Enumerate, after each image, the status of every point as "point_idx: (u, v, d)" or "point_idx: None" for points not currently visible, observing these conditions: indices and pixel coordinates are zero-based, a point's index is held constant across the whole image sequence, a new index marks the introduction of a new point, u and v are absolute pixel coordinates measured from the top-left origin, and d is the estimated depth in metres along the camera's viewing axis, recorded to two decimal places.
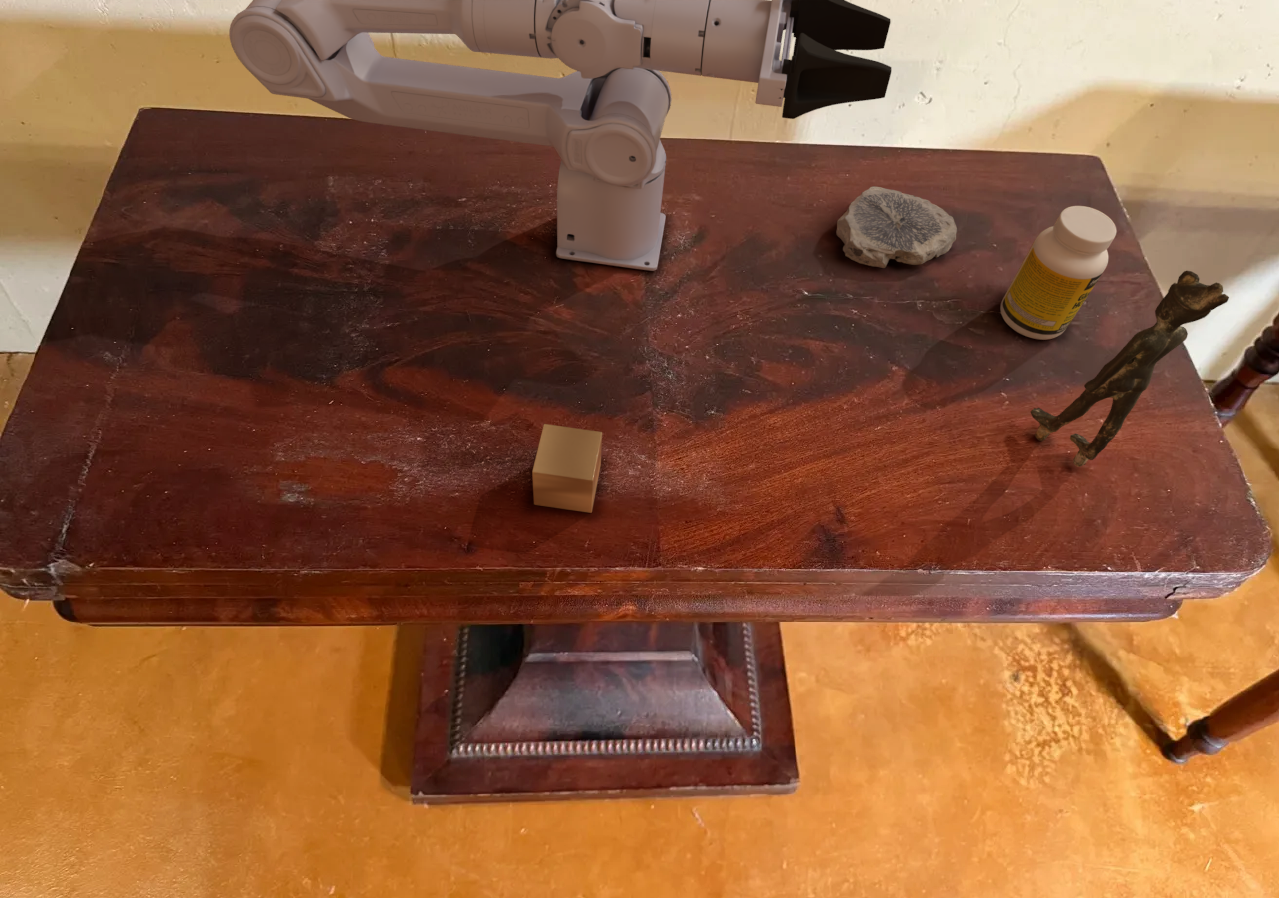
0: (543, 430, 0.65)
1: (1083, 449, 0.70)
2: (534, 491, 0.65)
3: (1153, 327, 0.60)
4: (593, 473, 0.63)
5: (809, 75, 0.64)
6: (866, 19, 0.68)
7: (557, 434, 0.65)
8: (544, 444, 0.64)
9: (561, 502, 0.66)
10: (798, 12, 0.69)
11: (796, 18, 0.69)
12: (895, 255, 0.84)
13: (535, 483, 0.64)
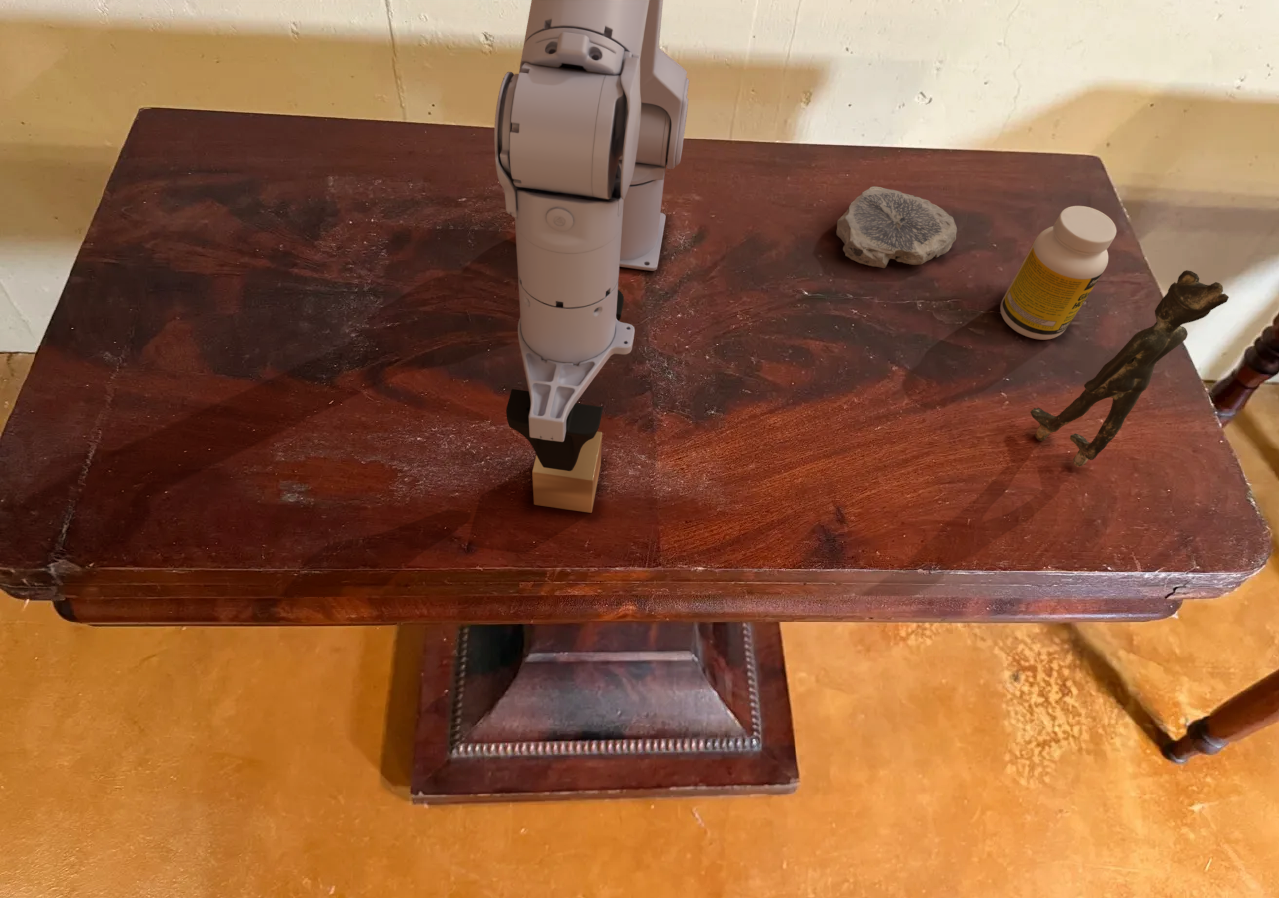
0: None
1: (1083, 449, 0.70)
2: (534, 491, 0.65)
3: (1153, 327, 0.60)
4: (593, 473, 0.63)
5: None
6: None
7: None
8: None
9: (561, 502, 0.66)
10: None
11: None
12: (895, 255, 0.84)
13: (535, 483, 0.64)
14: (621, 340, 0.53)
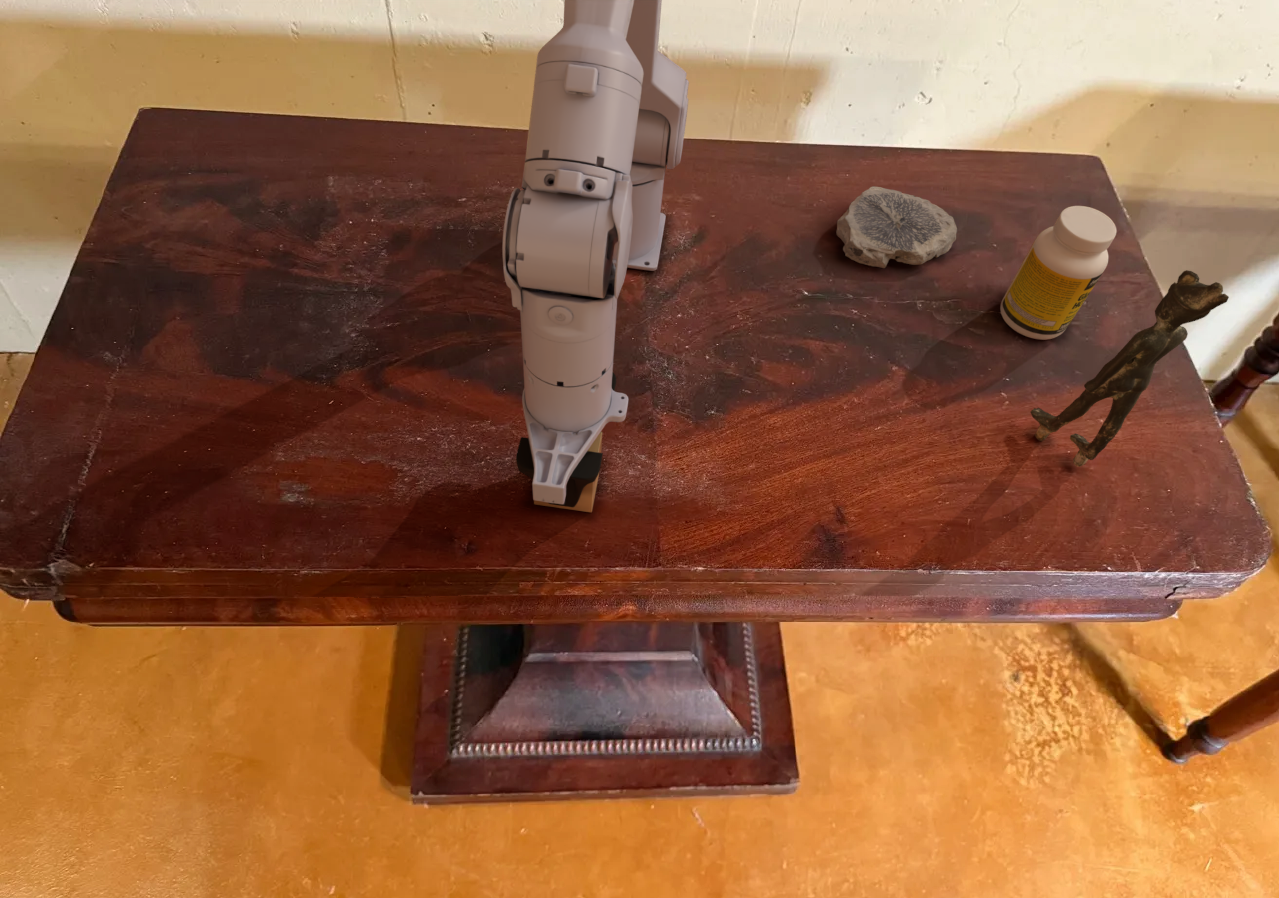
0: None
1: (1083, 449, 0.70)
2: None
3: (1153, 327, 0.60)
4: None
5: None
6: None
7: None
8: None
9: None
10: None
11: None
12: (895, 255, 0.84)
13: None
14: (616, 409, 0.59)
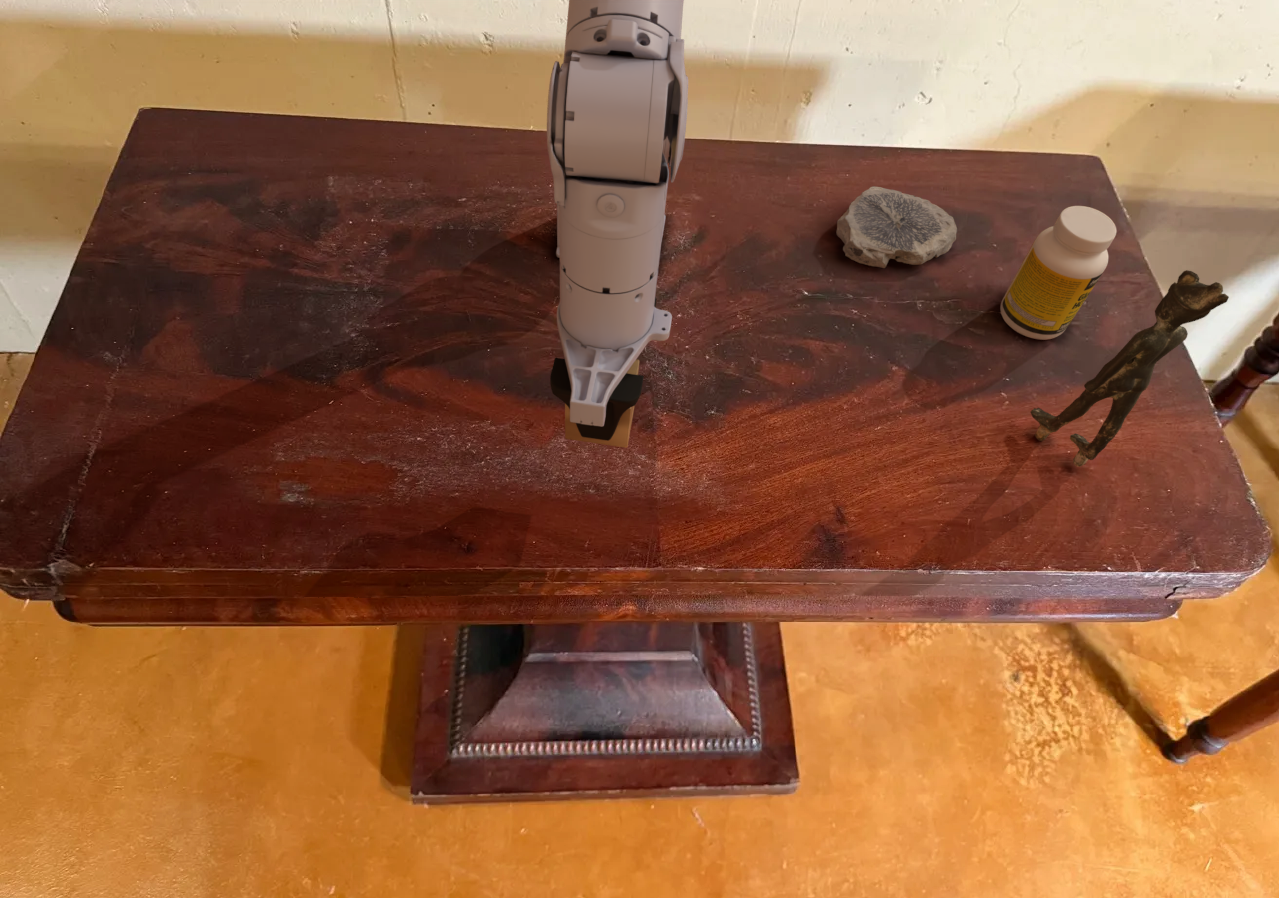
0: None
1: (1083, 449, 0.70)
2: (566, 423, 0.60)
3: (1153, 327, 0.60)
4: None
5: None
6: None
7: None
8: None
9: None
10: None
11: None
12: (895, 255, 0.84)
13: (568, 413, 0.59)
14: (659, 327, 0.54)
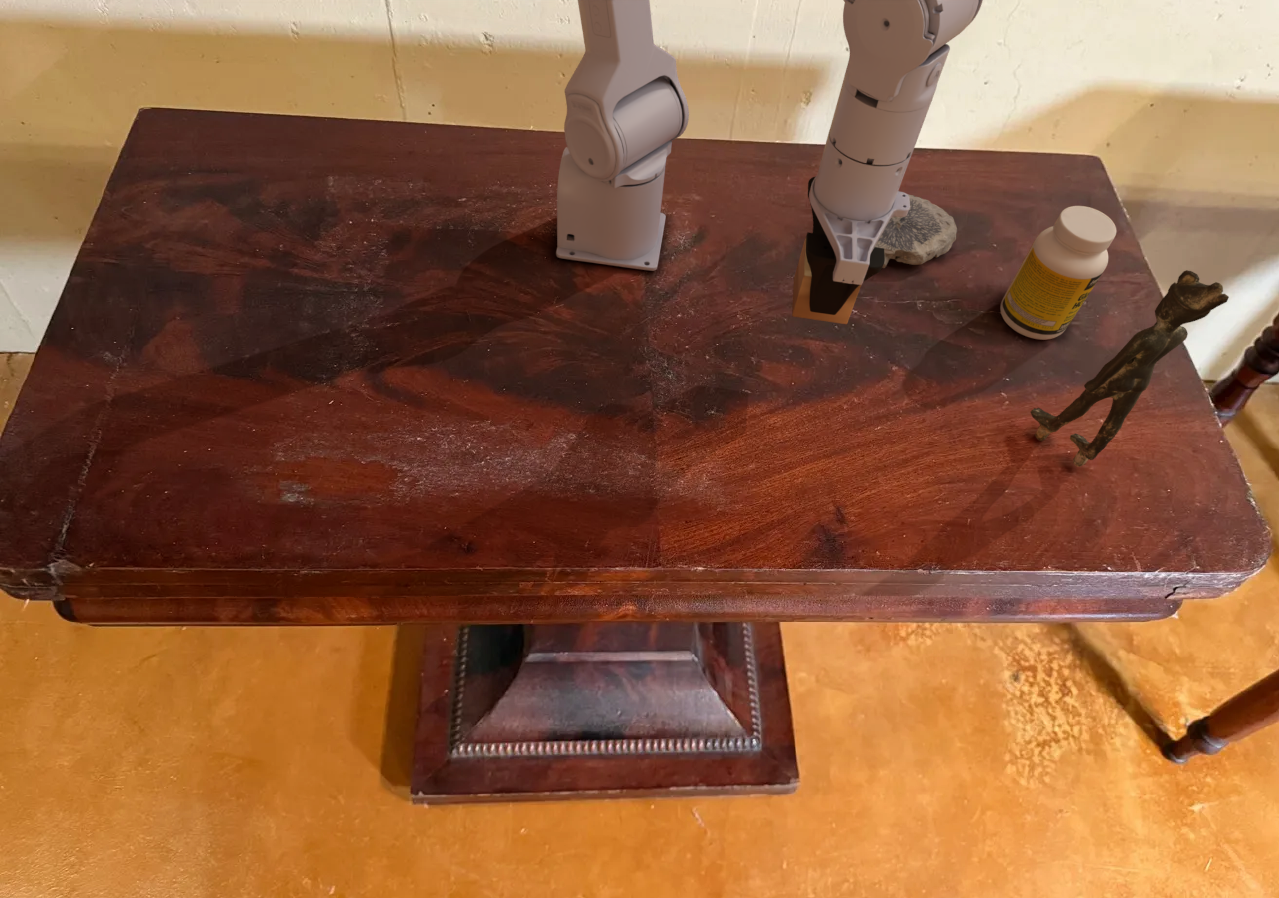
0: None
1: (1083, 449, 0.70)
2: (798, 299, 0.69)
3: (1153, 327, 0.60)
4: None
5: None
6: None
7: None
8: None
9: None
10: None
11: None
12: (895, 255, 0.84)
13: (802, 289, 0.68)
14: (900, 204, 0.63)
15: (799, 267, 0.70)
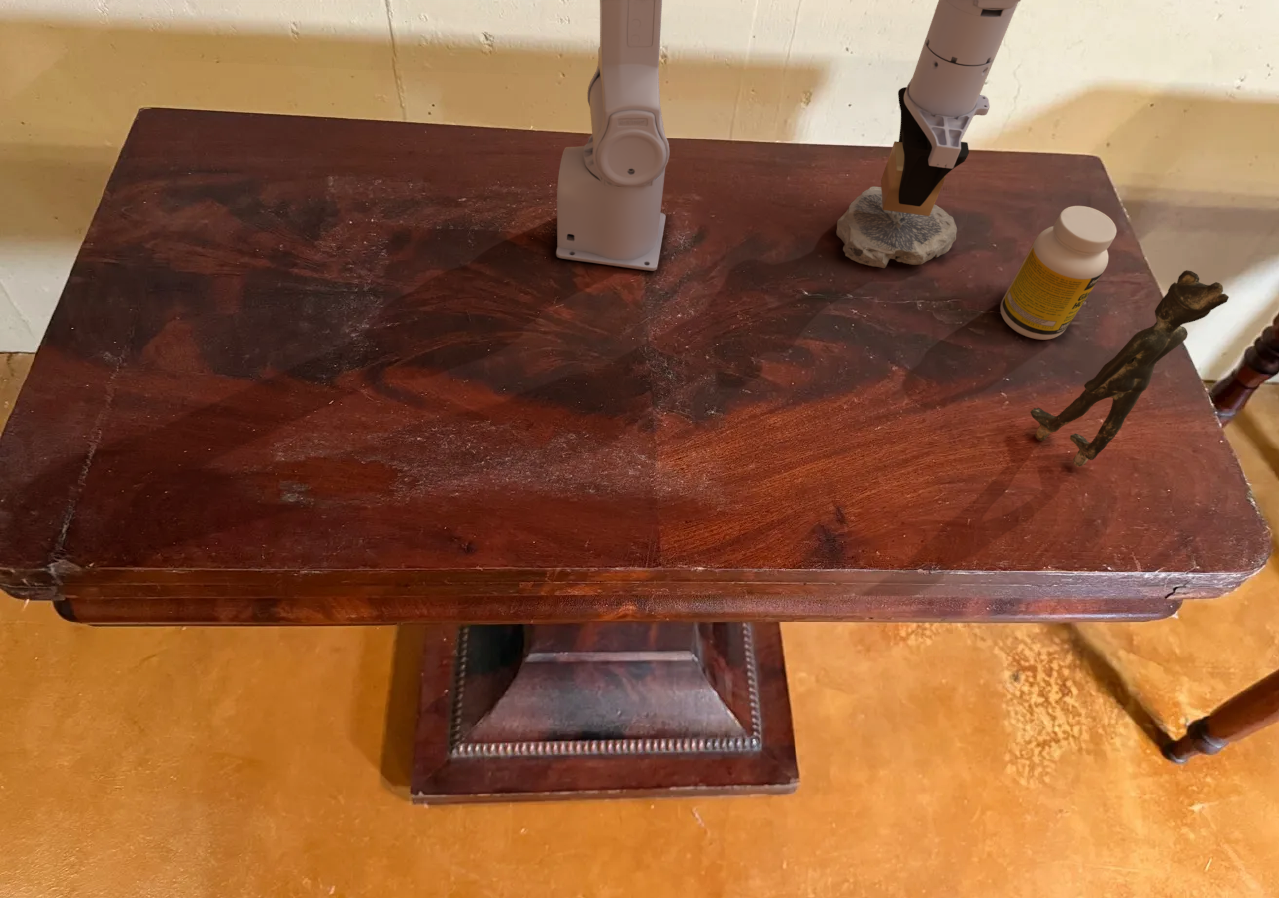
0: (895, 145, 0.81)
1: (1083, 449, 0.70)
2: (889, 193, 0.81)
3: (1153, 327, 0.60)
4: None
5: None
6: None
7: None
8: (899, 153, 0.80)
9: (908, 205, 0.81)
10: None
11: None
12: (895, 255, 0.84)
13: (894, 183, 0.80)
14: (981, 104, 0.75)
15: (888, 167, 0.82)
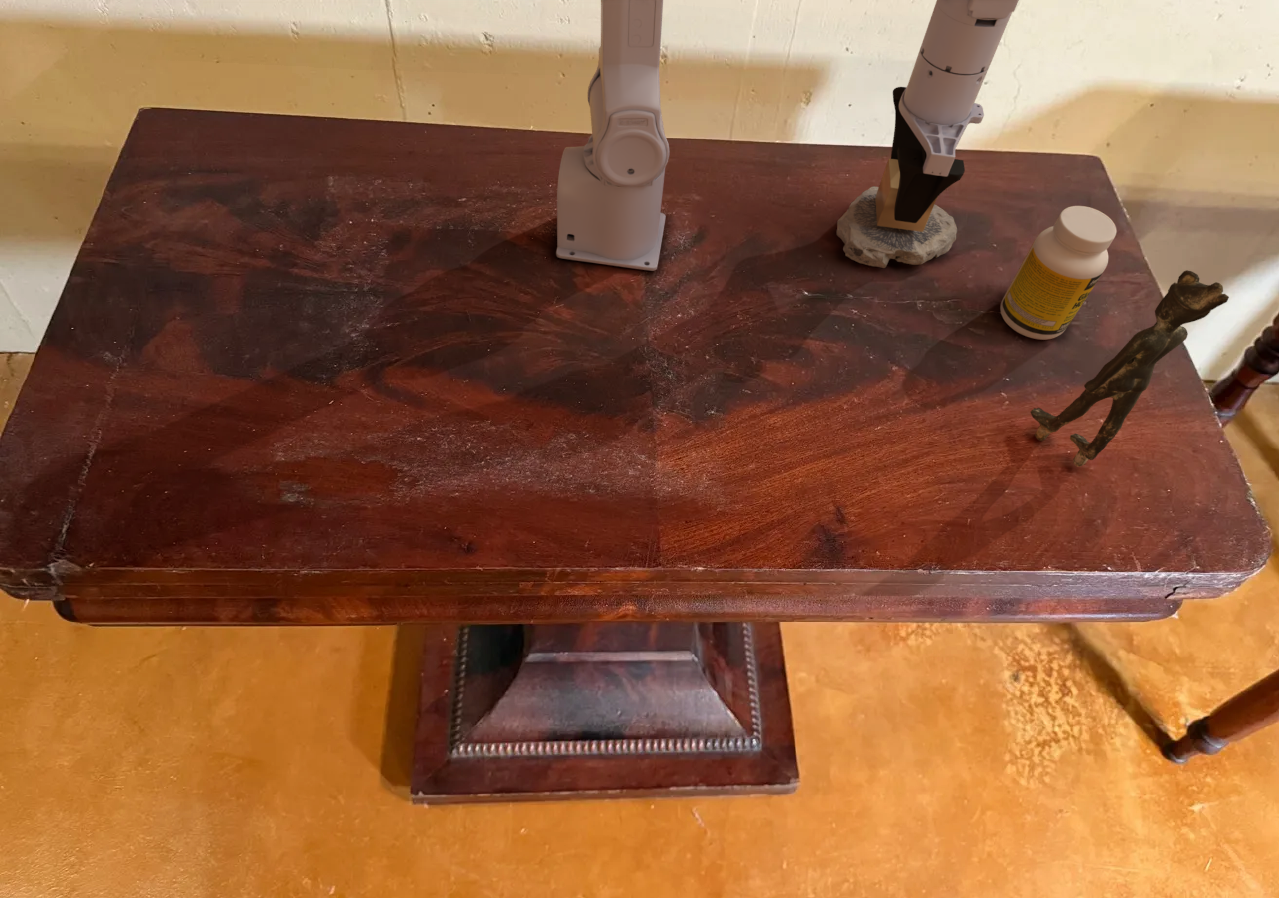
0: (890, 162, 0.82)
1: (1083, 449, 0.70)
2: (883, 210, 0.82)
3: (1153, 327, 0.60)
4: None
5: None
6: None
7: None
8: (893, 170, 0.82)
9: (902, 221, 0.83)
10: None
11: None
12: (895, 255, 0.84)
13: (888, 200, 0.81)
14: (976, 113, 0.75)
15: (882, 184, 0.84)
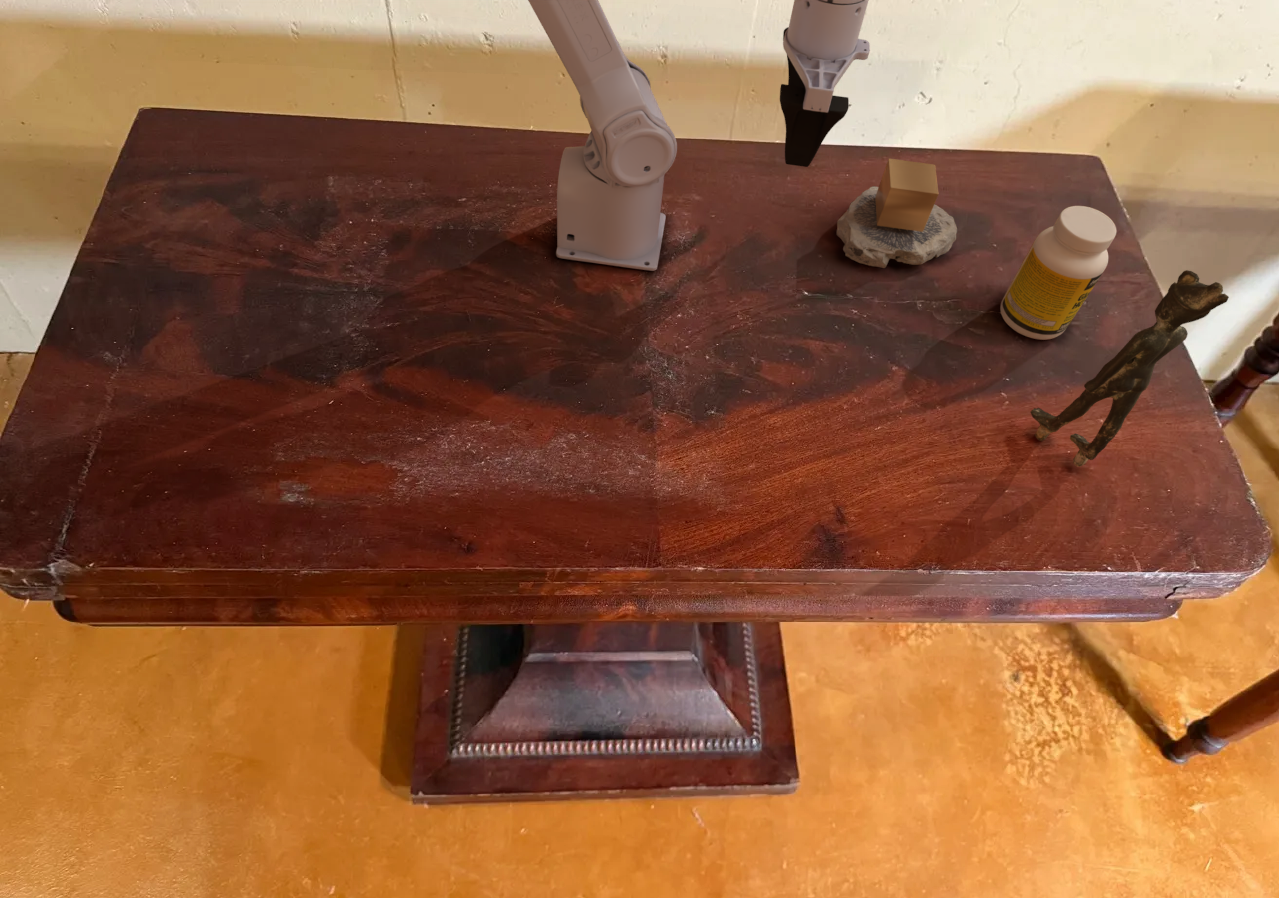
0: (889, 162, 0.82)
1: (1083, 449, 0.70)
2: (883, 210, 0.82)
3: (1153, 327, 0.60)
4: (937, 189, 0.81)
5: None
6: None
7: (901, 165, 0.82)
8: (893, 170, 0.82)
9: (902, 221, 0.83)
10: None
11: None
12: (895, 255, 0.84)
13: (888, 200, 0.81)
14: (861, 48, 0.73)
15: (882, 184, 0.84)
